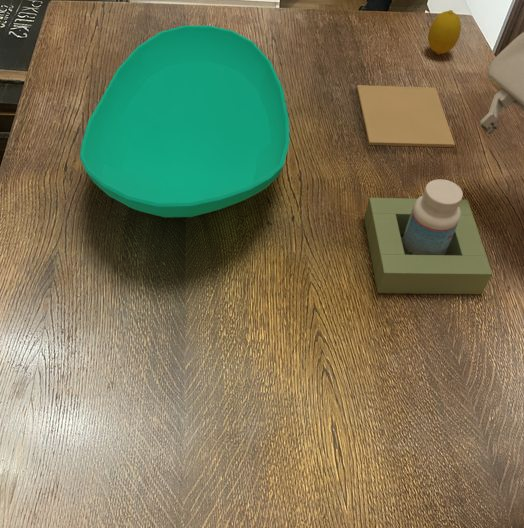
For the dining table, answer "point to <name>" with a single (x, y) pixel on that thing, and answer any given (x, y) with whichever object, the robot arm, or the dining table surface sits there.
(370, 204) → the stand
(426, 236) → the pill bottle
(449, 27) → the lemon
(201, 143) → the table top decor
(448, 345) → the dining table surface
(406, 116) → the mat
